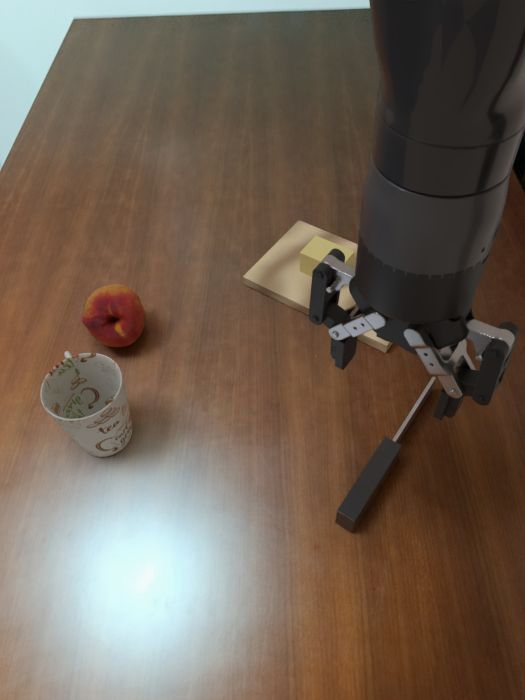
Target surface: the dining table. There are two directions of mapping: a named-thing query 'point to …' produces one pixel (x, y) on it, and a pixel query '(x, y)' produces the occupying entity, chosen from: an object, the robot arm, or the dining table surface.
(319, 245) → the butter
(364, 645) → the dining table surface
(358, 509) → the screwdriver
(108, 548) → the dining table surface
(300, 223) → the board
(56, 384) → the mug
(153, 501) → the dining table surface
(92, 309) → the fruit
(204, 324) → the dining table surface
